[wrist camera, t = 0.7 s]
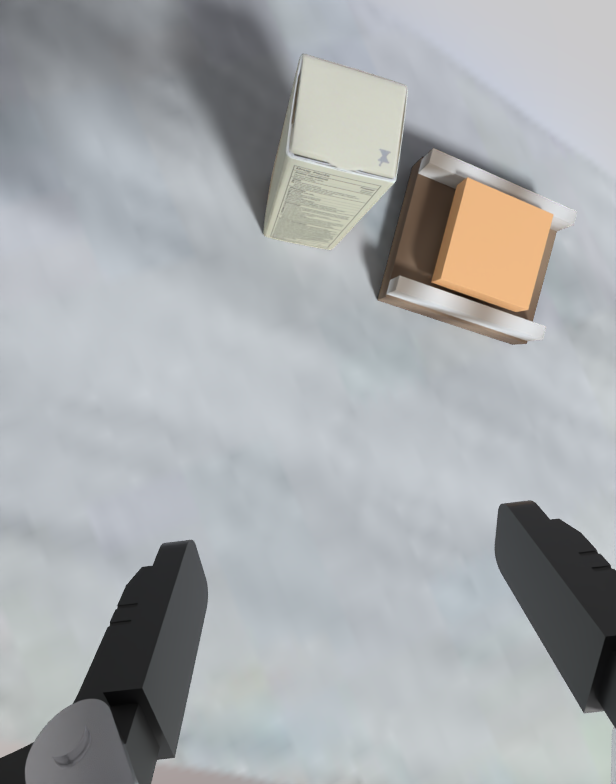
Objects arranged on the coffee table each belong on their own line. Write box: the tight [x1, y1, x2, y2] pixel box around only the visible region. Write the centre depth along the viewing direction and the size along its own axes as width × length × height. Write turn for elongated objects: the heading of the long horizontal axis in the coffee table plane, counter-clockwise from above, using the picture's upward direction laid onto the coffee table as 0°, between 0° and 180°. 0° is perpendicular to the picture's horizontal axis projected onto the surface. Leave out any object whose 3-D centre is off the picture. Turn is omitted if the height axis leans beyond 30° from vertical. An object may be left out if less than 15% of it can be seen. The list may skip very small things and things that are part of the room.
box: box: [263, 54, 408, 250], centre depth 22 cm, size 5×4×11 cm
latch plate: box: [431, 177, 554, 312], centre depth 27 cm, size 7×7×1 cm
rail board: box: [377, 148, 577, 344], centre depth 29 cm, size 12×10×3 cm
